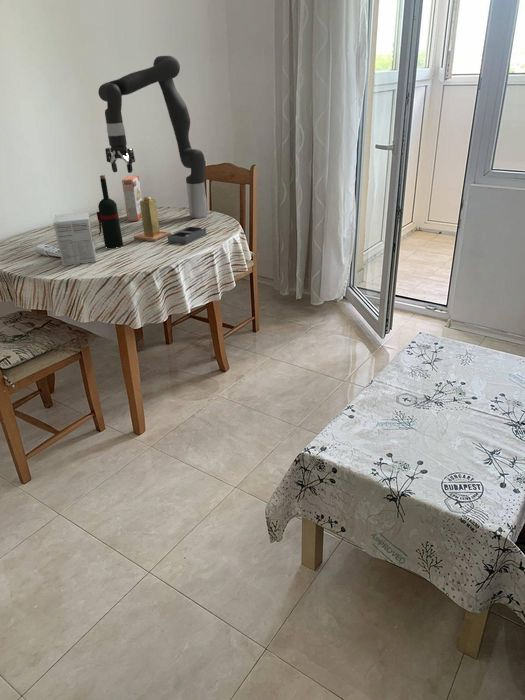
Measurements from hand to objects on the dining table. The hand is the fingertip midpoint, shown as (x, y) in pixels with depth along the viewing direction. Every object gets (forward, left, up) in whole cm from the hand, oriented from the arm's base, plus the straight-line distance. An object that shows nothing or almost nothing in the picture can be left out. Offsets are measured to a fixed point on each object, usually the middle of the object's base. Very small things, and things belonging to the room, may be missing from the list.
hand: (122, 172), depth 238 cm
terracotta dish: (+4, +15, -28) cm, 32 cm away
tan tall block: (+4, +15, -27) cm, 31 cm away
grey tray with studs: (+1, +32, -28) cm, 42 cm away
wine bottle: (+22, +6, -28) cm, 36 cm away
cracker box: (-24, -16, -28) cm, 40 cm away
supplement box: (+42, +6, -28) cm, 51 cm away
